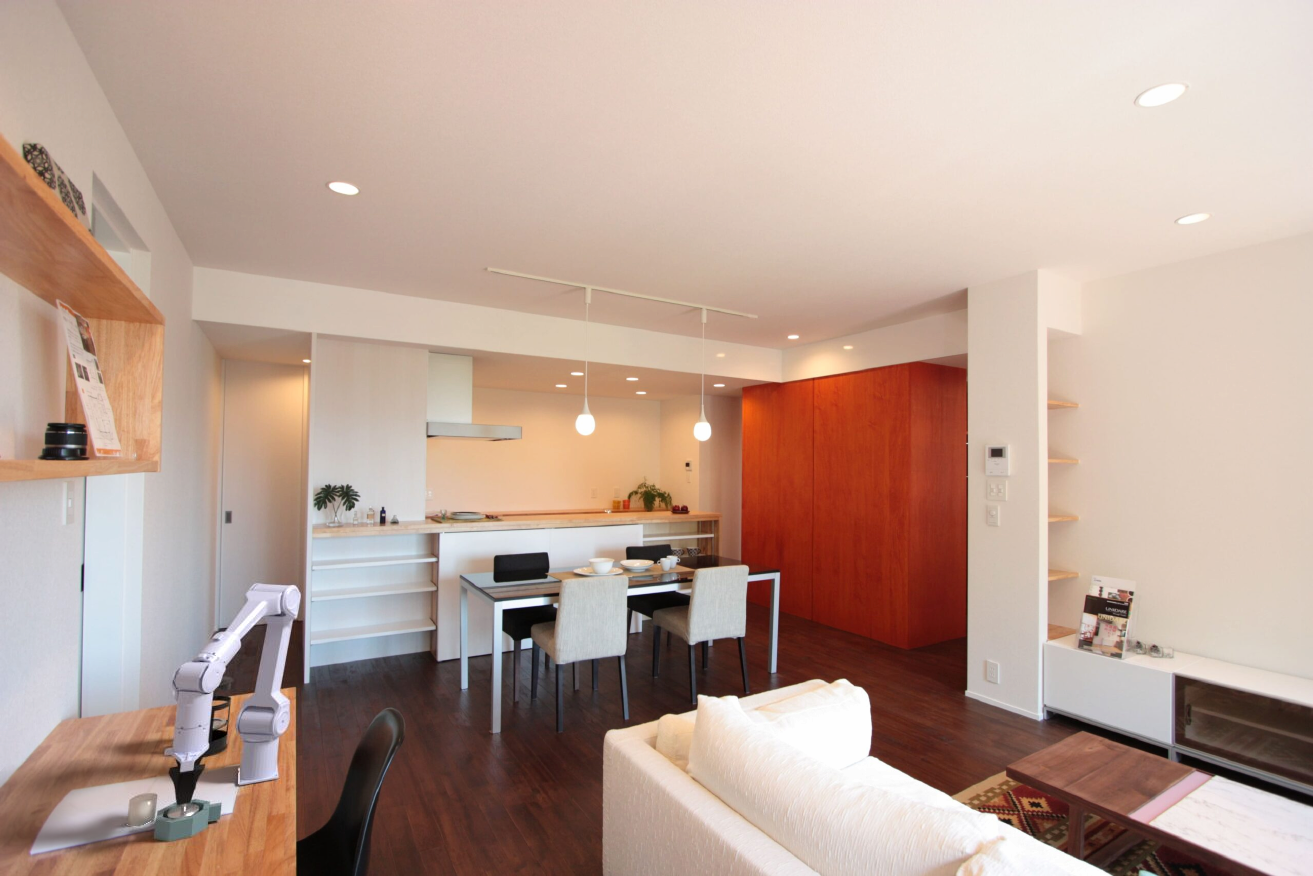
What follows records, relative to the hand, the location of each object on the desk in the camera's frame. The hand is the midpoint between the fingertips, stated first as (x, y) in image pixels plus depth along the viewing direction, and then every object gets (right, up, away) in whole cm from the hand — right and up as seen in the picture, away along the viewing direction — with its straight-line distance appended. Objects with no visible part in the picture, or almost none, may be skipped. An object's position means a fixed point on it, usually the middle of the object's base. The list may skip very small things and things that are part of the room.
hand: (185, 795), depth 125 cm
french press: (-21, -8, +35) cm, 42 cm away
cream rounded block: (-10, -6, +2) cm, 12 cm away
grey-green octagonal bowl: (0, -6, 0) cm, 6 cm away
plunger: (0, -4, 0) cm, 4 cm away
